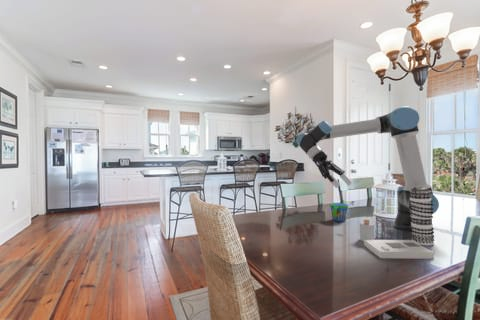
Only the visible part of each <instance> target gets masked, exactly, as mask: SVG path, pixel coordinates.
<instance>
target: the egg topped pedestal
mask: <svg viewBox="0 0 480 320" xmlns="http://www.w3.org/2000/svg"><path fill="white" fill-rule="evenodd" d="M359 240H360V241H362V243H364V240H375V224H372V223H371V222H370V219H368V218H364V219H363V222H359Z"/></svg>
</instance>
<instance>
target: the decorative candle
mask: <svg viewBox="0 0 480 320" xmlns="http://www.w3.org/2000/svg"><path fill="white" fill-rule="evenodd" d="M409 191H410V202H409V203H408V204H409V209H411V210H410V211H409V212H410V217H411V220H412V222H411V228H412V229H411V231H410V235H411V236H410V238H411V239H410V240H411V241H413V242H415V243H417V244H419V245H421V246H434V245H435V239H434V238H435V235H434V233H435V232H434V229H435V228H434V227H433V219H434V216H433V214H432V213H433V212H432V211H431V210H433V208H432V207H431V206H433V205H434V204H432V203H431V202H433V200H431V194H430V192H431V191H429V190H428V189H427V188H425V187H413V188H412V189H411V190H409ZM431 214H432V215H431Z"/></svg>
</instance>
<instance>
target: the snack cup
mask: <svg viewBox="0 0 480 320" xmlns="http://www.w3.org/2000/svg"><path fill="white" fill-rule="evenodd" d="M329 207H330V211H331V218H332V221H334V222H341V223H342V222H346V220H347V213H348V208H349V205H348V204H347V203H341V202H333V203H332V202H331V203H330V204H329Z"/></svg>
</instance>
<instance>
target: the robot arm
mask: <svg viewBox="0 0 480 320" xmlns="http://www.w3.org/2000/svg"><path fill="white" fill-rule="evenodd" d="M419 122H420V115H419V113H418V111H417V110H416V109H415V108H414V107H411V106H401V107H397V108H395V109H393V110H392V111H391V112H389V113H387V114H384V115H379V116H376V117H375V118H374V119H366V120H359V121H353V122H347V123H340V124H336V125H335V124H334V125H330V124H329V123H328V122H327V121H326V120H322V121H321V122H319V123H318V124H317V125H316V126H314V127H313V128H312V130H310V131H309V132H308V133H306V132H302V133H300V134H298V135H297V137H296V140H295V141H296V143H297V145H298V147H300V149H302V151H303V152H304V153H305V154H306V155H307V156H308V158H309V159H310V160H312V162H313V163H314V164H315V166H316V167H317V169H318V170H319V172H320V174H321V176H322V177H323V178H324V179H325V180H328V181H329V182H330V183H331V184H332V186H333V187H335V189H337V188H338V187H340V186H341V183H340V182H339V181H338V179H336V177H334V175H333V174H331V172H330V171H332V172H334V173H335V174H336V175H338V176H339V178H340V179H342V181H343V182H344V183H345V184H346V185H347V186H348V187H349V186H350V185H351V184H353V180H351V179H350V178H349V177H348V176H347V175H346V174H345V173H346V171H345V170H344V169H342V168H341V167H340V166H338V165H337V164H336V163H334V162H333V161H332V160H331V159H329V160H328V155H327V154H326V153H325V151H323V149H322V148H321V147H320V146H319V145H317V144H319V142H320V141H323V140H329V139H335V138H344V137H345V138H346V137H351V136H357V135H359V136H360V135H366V134H372V133H377V134H390V135H391V136H390V137H391V138H393V139H394V141H395V142H396V147H397V152H398V155H399V156H398V157H399V161H400V165H401V169H402V170H401V171H402V174H403V179H404V184H405V185H403V186H398V187H397V191H396V193H397V213H396V217H395V219H394V221H393V223H394V224H393V226H394V227H395V228H396V229H399V230H403V231H408V232H412V231H411V229H412V228H411V222H412V220H411V217H410V212H409V211H410V210H411V209H409V204H408V203H409V202H410V191H409V190H411V189H412V188H413V187H425V188H427V189H428V190H429V191H431V192H430V194H431V200H433V202H431V203H432V204H434V205H433V206H431V207H432V208H433V210H431V211H432V212H433V213H432V214H431V215H432V216H433V215H434V214H435V213H436V212H437V211H438V209H439V207H440V203H439V199H438V198H437V197H436V196H435V195H434V193H433V189H432V185H430V184H428V182H427V180H426V176H425V169H424V166H423V165H424V164H423V160H422V156H421V153H420V149H419V148H420V147H419V144H418V139H417V135H418V133H419V130H420V129H419V126H418V124H419Z"/></svg>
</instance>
